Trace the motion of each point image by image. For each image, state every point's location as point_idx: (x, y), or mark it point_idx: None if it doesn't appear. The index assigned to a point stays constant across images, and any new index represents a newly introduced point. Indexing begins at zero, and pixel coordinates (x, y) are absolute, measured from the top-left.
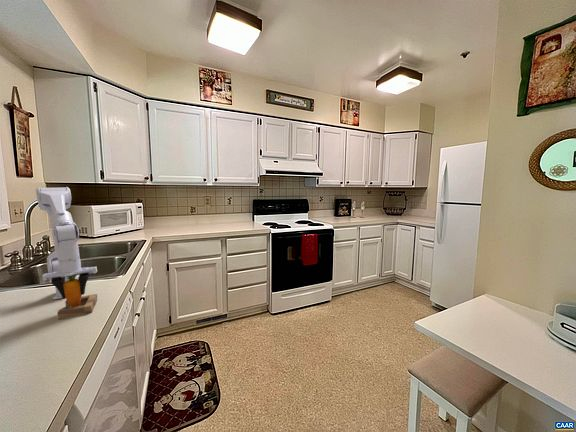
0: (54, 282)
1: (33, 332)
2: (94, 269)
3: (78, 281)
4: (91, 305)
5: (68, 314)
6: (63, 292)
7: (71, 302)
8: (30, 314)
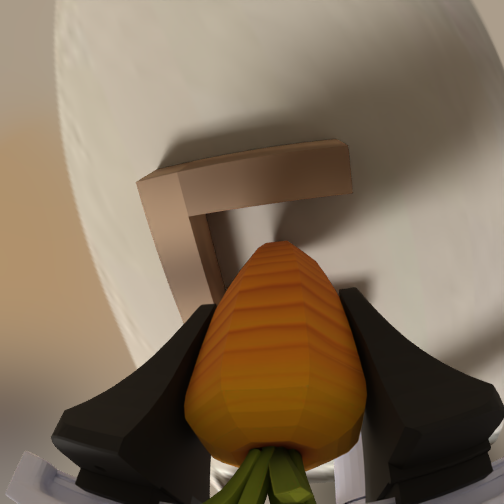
0: (478, 405)
1: (403, 28)
2: (15, 486)
3: (190, 421)
4: (141, 196)
5: (280, 149)
6: (353, 319)
7: (285, 249)
8: (479, 278)
